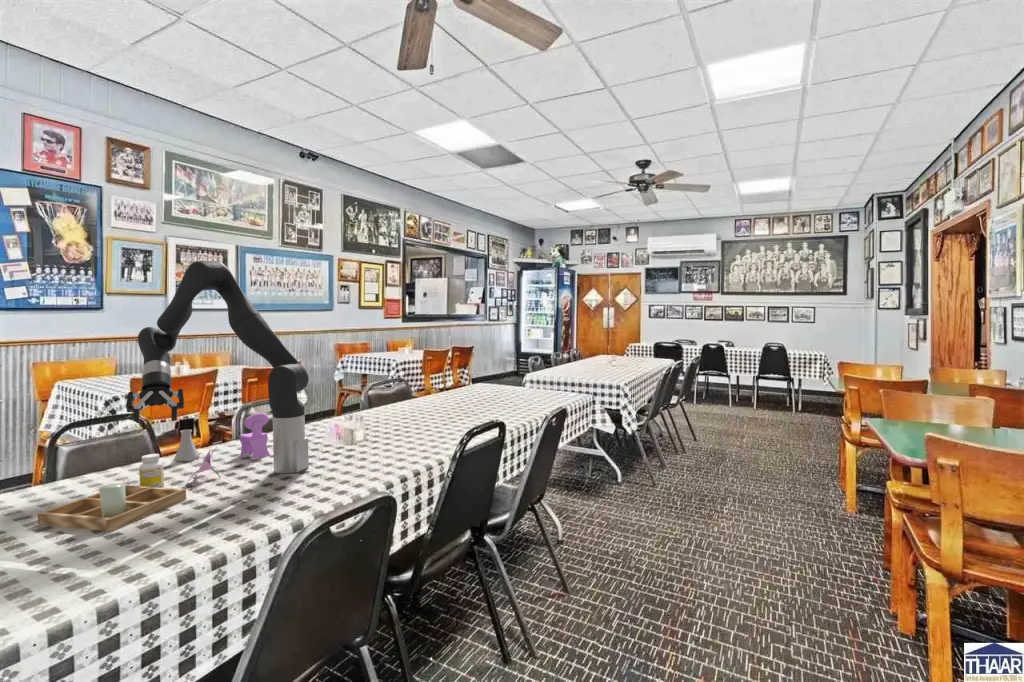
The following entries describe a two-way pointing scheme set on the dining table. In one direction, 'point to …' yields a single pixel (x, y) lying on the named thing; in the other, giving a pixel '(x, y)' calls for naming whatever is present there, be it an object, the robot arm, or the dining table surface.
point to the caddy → (89, 516)
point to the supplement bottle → (151, 471)
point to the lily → (205, 465)
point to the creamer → (112, 499)
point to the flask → (186, 448)
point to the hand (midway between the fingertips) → (155, 420)
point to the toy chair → (255, 436)
